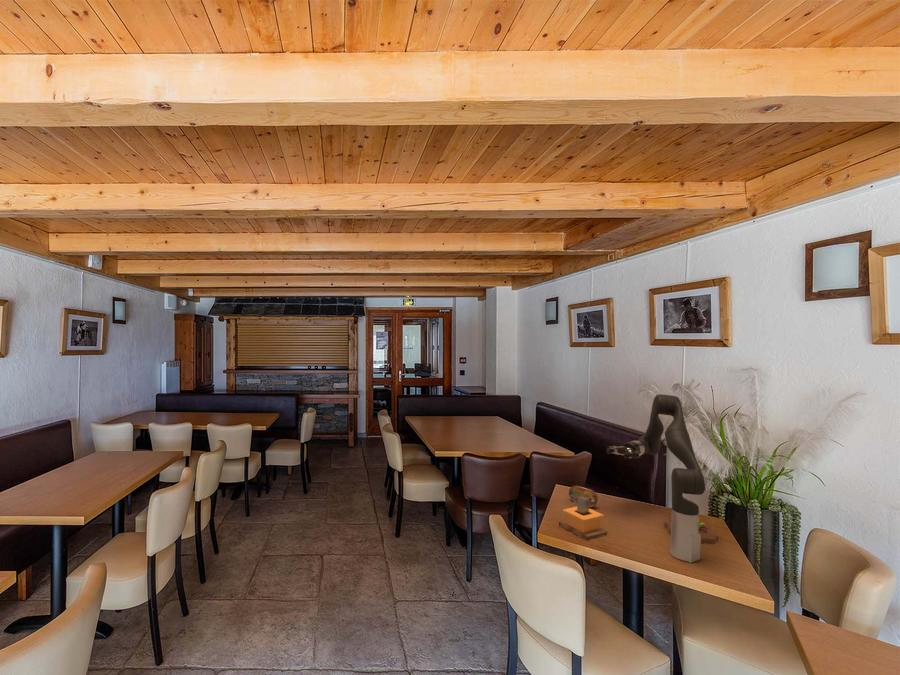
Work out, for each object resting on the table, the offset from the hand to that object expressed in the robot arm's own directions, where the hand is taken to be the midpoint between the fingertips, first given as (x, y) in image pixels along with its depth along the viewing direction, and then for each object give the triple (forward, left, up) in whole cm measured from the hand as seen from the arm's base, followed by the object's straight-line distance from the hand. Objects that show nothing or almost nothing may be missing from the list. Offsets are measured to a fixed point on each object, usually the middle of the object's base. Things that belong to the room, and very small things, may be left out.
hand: (615, 453), depth 198 cm
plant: (-25, -19, -31) cm, 44 cm away
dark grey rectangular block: (-2, +22, -28) cm, 36 cm away
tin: (+19, -1, -30) cm, 36 cm away
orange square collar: (-2, +22, -28) cm, 36 cm away
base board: (-2, +22, -30) cm, 37 cm away
